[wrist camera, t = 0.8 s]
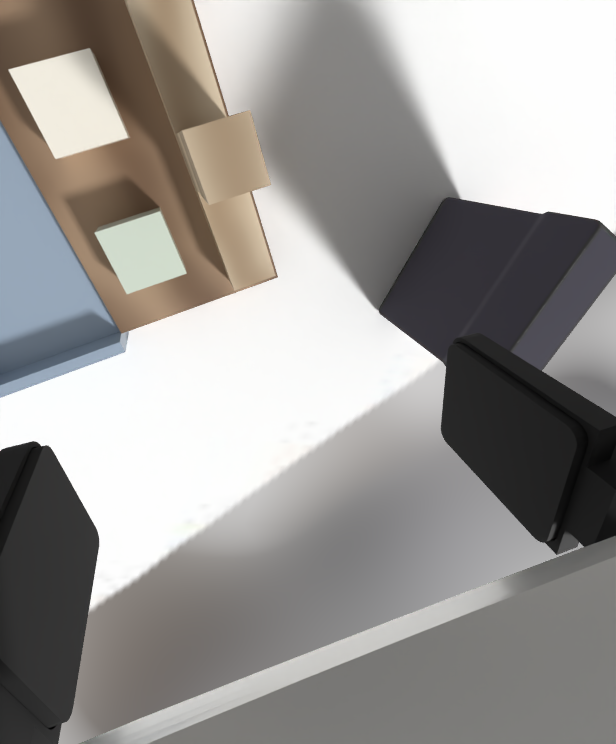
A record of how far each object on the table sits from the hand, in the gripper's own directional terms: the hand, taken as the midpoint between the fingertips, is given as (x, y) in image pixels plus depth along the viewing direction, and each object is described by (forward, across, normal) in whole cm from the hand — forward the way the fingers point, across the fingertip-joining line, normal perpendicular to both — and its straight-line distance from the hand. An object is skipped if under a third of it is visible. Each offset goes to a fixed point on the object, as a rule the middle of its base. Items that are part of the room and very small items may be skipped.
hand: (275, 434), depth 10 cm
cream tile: (+22, +5, -8) cm, 24 cm away
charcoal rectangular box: (+24, -18, +6) cm, 31 cm away
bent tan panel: (+22, -1, -5) cm, 23 cm away
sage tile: (+22, +4, 0) cm, 22 cm away
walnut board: (+24, +2, -4) cm, 25 cm away
